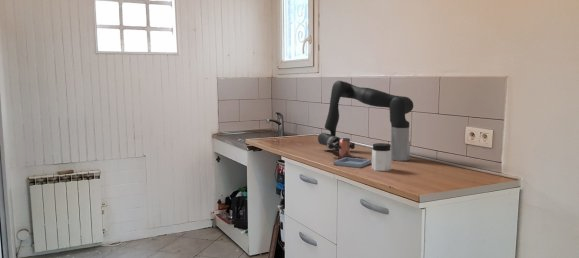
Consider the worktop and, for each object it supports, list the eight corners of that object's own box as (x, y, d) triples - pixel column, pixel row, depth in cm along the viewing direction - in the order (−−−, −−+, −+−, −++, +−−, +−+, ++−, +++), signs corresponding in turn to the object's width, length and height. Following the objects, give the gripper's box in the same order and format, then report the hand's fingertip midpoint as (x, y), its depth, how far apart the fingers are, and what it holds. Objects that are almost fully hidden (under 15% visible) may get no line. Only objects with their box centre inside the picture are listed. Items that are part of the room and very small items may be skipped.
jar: (370, 170, 206) (371, 145, 204) (372, 167, 214) (373, 142, 212) (390, 171, 203) (390, 145, 202) (391, 168, 211) (392, 143, 210)
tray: (370, 163, 224) (370, 159, 224) (359, 167, 212) (359, 164, 212) (345, 160, 231) (345, 157, 231) (333, 165, 219) (333, 161, 219)
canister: (351, 158, 237) (351, 138, 236) (347, 160, 232) (347, 139, 231) (341, 157, 240) (341, 137, 239) (337, 159, 235) (337, 138, 234)
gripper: (323, 137, 248) (332, 140, 232) (347, 136, 251) (358, 139, 235) (323, 150, 248) (332, 155, 233) (347, 149, 251) (358, 153, 236)
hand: (345, 147), depth 234 cm, fingers open, 8 cm apart
